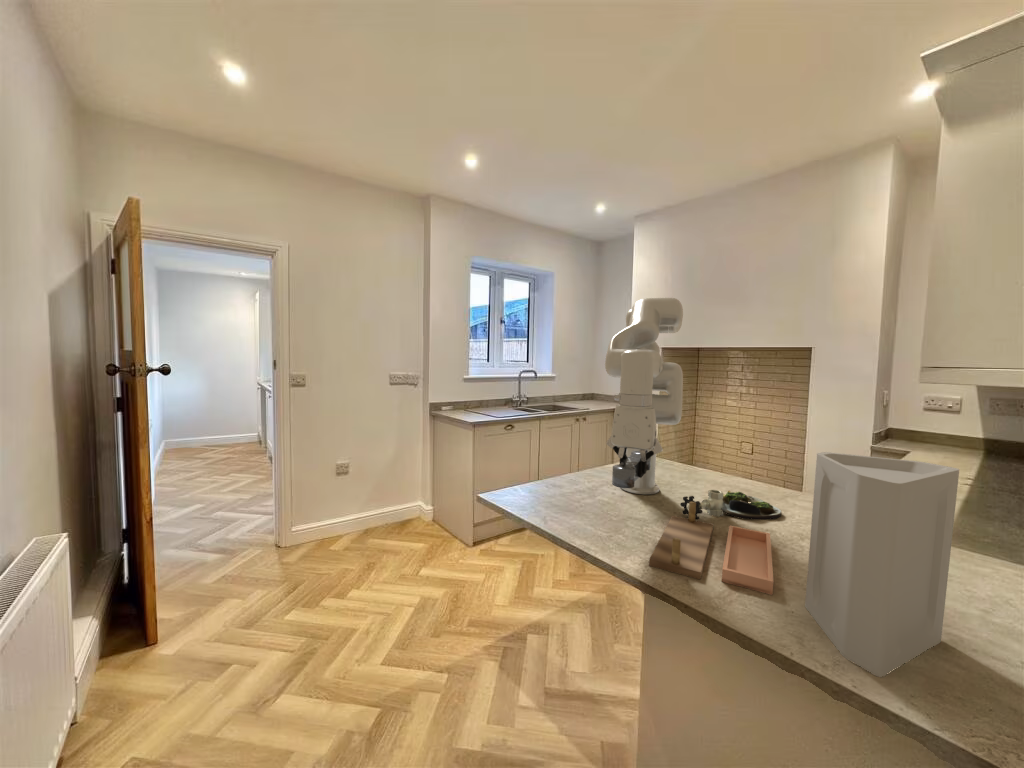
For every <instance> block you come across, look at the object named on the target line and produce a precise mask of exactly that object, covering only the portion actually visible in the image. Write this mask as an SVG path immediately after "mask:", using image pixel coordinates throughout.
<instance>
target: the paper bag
mask: <svg viewBox="0 0 1024 768" xmlns="http://www.w3.org/2000/svg"><path fill="white" fill-rule="evenodd" d="M815 461H816V462H815V474H814V488H813V500H812V512H811V524H810V536H809V537H810V538H809V551H808V564H807V576H806V589H805V600H804V601H805V602H804V607H806V608H805V609H806V611H807V612H808V611H809V612H808V613H809V614H810V615H811V617H812V618H813V619H814V621H815V622H816V624H817V625H818V626H819V627H820V629H821V630H822V631H823V632H824V634H825V635H826V636H827V637H828V639H829V640H830V642H831V643H832V644H833V645H834V647H835V646H836V647H835V648H836V649H837V651H838V650H839V651H840V652H839V651H838V652H839V654H841V656H842V657H843V658H845V659H846V658H847V659H846V660H848V659H849V660H850V661H849V660H848V661H849V662H851V661H852V662H851V663H853V662H854V663H855V664H854V663H853V664H854V665H856V664H857V665H856V666H858V665H859V666H861V667H862V668H861V667H860V668H861V669H863V668H864V669H863V670H865V669H866V670H867V671H866V670H865V671H866V672H868V671H869V672H868V673H870V672H871V673H870V674H872V675H874V676H875V677H879V678H883V677H882V676H884V677H886V676H887V675H886V674H887V673H889V672H890V671H892V670H893V669H895V668H897V667H899V666H901V665H902V664H904V663H906V662H907V663H909V662H910V661H909V660H911V659H912V660H914V659H915V657H916V656H917V657H919V656H920V655H919V654H921V653H922V652H924V651H925V652H927V651H928V650H927V649H929V648H930V649H932V648H934V647H936V646H937V645H939V644H940V643H941V642H942V636H943V634H942V633H943V626H944V616H945V608H946V607H945V606H946V599H947V588H948V580H949V579H948V578H949V572H950V571H949V570H950V561H951V560H950V559H951V552H952V551H951V550H952V543H953V542H952V541H953V534H954V533H953V532H954V522H955V515H956V513H955V512H956V504H957V495H958V488H959V487H958V485H959V478H960V476H959V475H960V469H959V468H957V467H952V466H946V465H941V464H936V463H931V462H926V461H917V460H908V459H899V458H898V459H897V458H887V457H880V456H879V457H878V456H871V455H870V456H869V455H859V454H857V455H856V454H847V453H838V452H830V451H828V452H827V451H825V452H824V451H822V452H817V453H816V460H815ZM933 646H934V647H933ZM931 647H932V648H931ZM930 649H929V650H930ZM926 650H927V651H926ZM925 652H924V653H925ZM922 654H923V653H922ZM922 654H921V655H922ZM918 655H919V656H918ZM917 657H916V658H917ZM913 658H914V659H913ZM912 660H911V661H912ZM908 661H909V662H908ZM907 663H906V664H907ZM904 665H905V664H904ZM859 666H858V667H859ZM902 666H903V665H902ZM902 666H901V667H902ZM899 668H900V667H899ZM897 669H898V668H897ZM889 674H890V673H889ZM885 675H886V676H885Z"/></svg>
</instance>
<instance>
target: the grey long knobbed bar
mask: <svg viewBox="0 0 1024 768" xmlns="http://www.w3.org/2000/svg"><path fill="white" fill-rule="evenodd" d="M640 458H641V455H640V451H632V452H631V455H630V456H629V457H628V458H627V459H625V460H624V461H623V462H621V463H620V462H619V464H615V465H613V466H612V475H611V477H612V478H611V485H612V486H614V487H615V488H620V489H622V488H633V487H634V486H635V481H636V480H637V479H638V478H639V477H638V469H639V461H640ZM650 468H651V457H650V458H649V459H648V460H647V467H646V471H647V470H650Z"/></svg>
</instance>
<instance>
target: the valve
mask: <svg viewBox="0 0 1024 768" xmlns="http://www.w3.org/2000/svg"><path fill="white" fill-rule="evenodd" d="M721 491H722V490H718V489H709V490H708V492H707V498H705V499H702V501H701V502H700V501H695V500H694V499H695V496H694V495H689V496H686V495H685V496H683V497H682V500H683V502H680V507H682V508H683V510H682V515H687V519H688V518H689V502H695V503H696V514H695V520H696V521H699V520H700V516H698V515H700V514H703V510H705V511H706V513H707V512H708V513H709V514H708V513H707V514H708V515H709V516H712V515H713V516H712V517H716V516H718V517H721V516H720V515H722V516H723V511H722V510H721V509H722V508H723V500H722V499H723V494H724V493H723V491H722V492H721Z"/></svg>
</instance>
